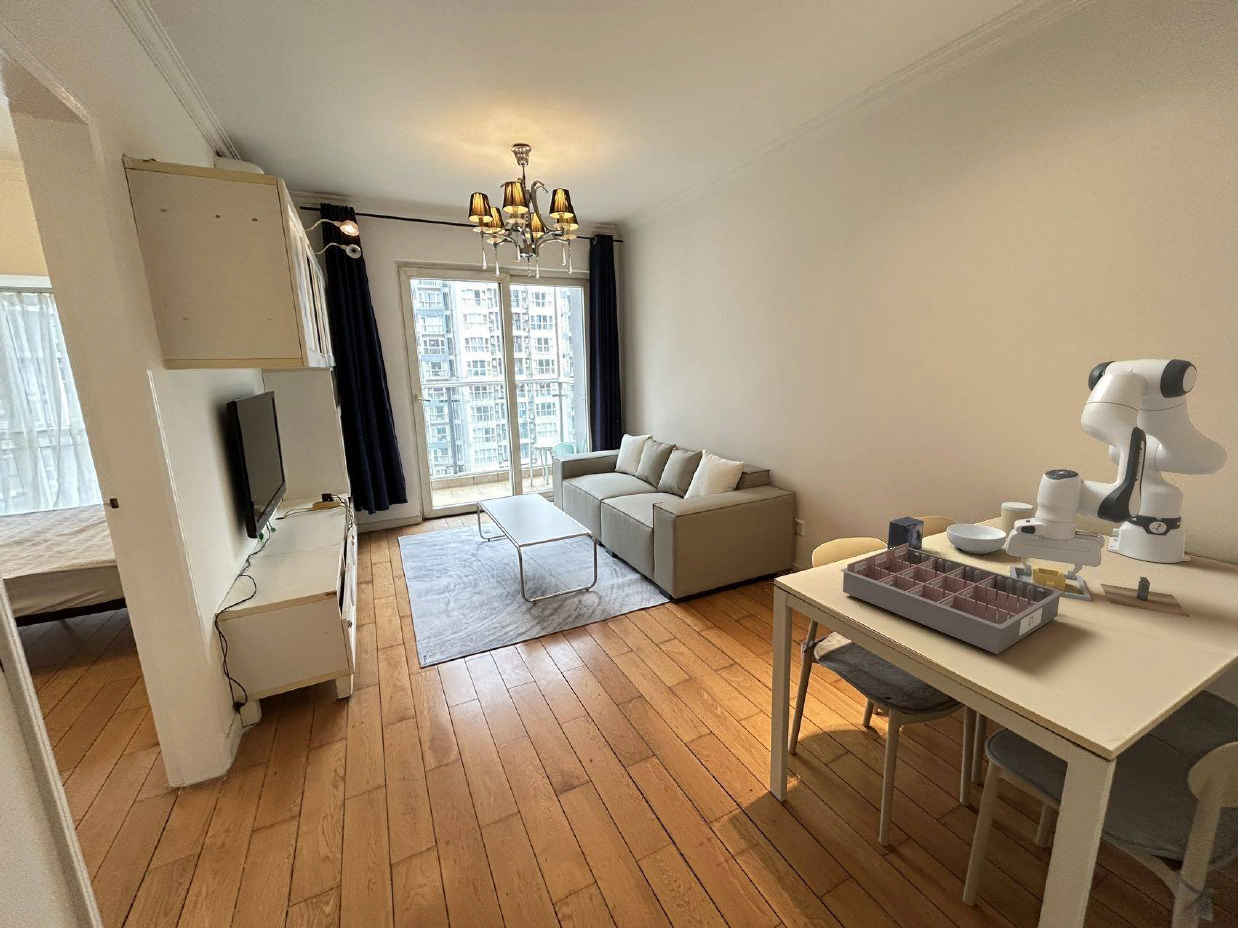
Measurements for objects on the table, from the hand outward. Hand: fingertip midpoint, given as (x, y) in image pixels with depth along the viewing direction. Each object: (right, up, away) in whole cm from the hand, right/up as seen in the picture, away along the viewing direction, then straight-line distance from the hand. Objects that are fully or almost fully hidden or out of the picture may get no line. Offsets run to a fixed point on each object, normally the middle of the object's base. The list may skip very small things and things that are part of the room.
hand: (1048, 574), depth 141 cm
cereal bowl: (+1, +1, +31) cm, 31 cm away
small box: (-21, +1, +35) cm, 41 cm away
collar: (-1, -4, -1) cm, 4 cm away
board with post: (+16, -6, -10) cm, 19 cm away
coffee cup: (+24, +4, +43) cm, 49 cm away
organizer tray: (-35, -8, -7) cm, 37 cm away
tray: (0, -4, +1) cm, 4 cm away
